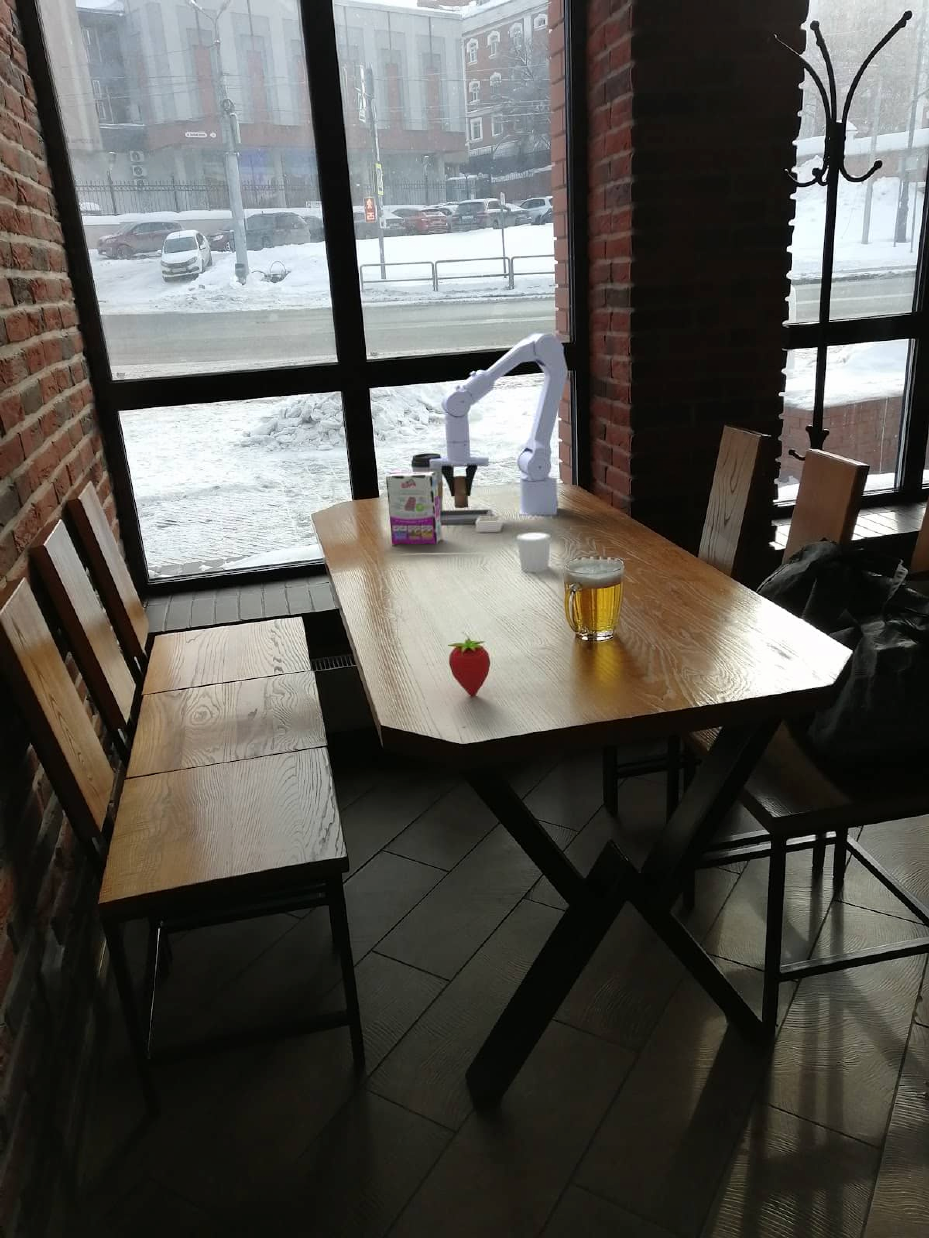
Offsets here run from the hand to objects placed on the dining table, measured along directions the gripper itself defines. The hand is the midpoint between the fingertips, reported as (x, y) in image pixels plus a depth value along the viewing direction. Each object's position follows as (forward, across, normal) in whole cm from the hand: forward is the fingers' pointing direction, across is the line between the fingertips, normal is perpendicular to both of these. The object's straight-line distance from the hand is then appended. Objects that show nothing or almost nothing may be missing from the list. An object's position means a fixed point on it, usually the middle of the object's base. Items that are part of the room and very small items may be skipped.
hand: (461, 495), depth 233 cm
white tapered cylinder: (+7, +21, -42) cm, 47 cm away
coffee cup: (+7, -10, +10) cm, 16 cm away
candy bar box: (+7, -8, -20) cm, 23 cm away
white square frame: (+6, +8, -10) cm, 14 cm away
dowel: (+3, 0, 0) cm, 3 cm away
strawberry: (+7, +16, -105) cm, 106 cm away
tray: (+6, 0, 0) cm, 6 cm away
